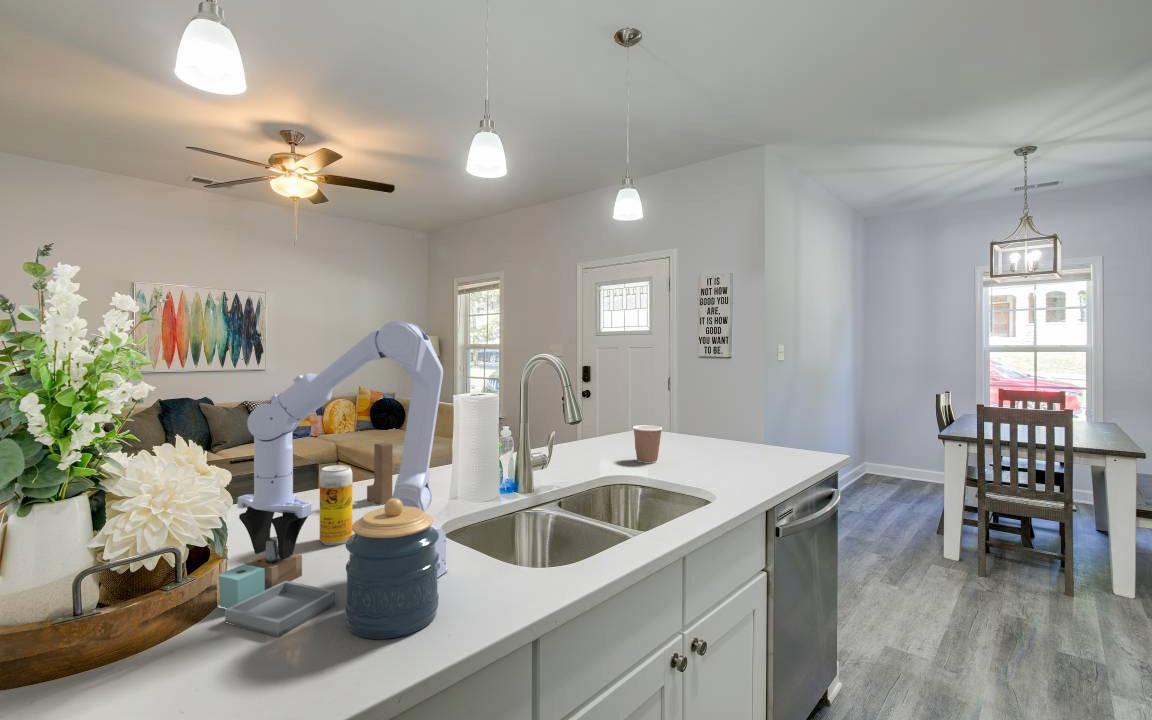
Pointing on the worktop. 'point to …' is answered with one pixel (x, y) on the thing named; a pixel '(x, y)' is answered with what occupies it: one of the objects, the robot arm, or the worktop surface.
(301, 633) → the worktop surface
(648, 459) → the coffee cup
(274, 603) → the tray
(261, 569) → the teal block
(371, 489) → the wooden block
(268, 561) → the cylinder
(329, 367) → the robot arm
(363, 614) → the canister
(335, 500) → the beer can
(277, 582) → the brown wooden square frame
